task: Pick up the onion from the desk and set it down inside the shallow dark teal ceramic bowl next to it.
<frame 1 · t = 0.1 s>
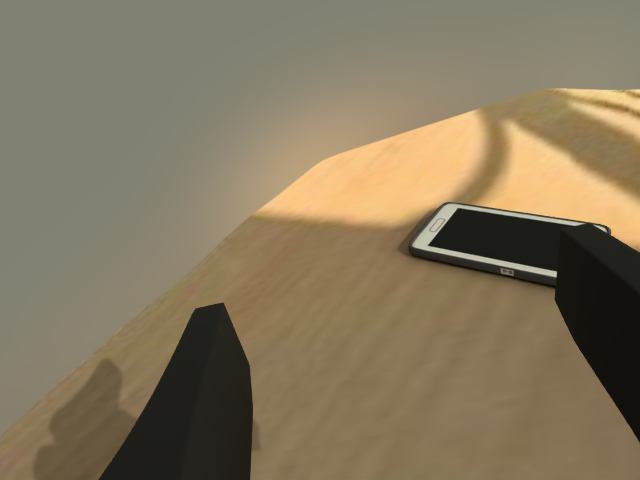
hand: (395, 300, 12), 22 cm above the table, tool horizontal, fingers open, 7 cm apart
cell phone: (505, 248, 48), on the table
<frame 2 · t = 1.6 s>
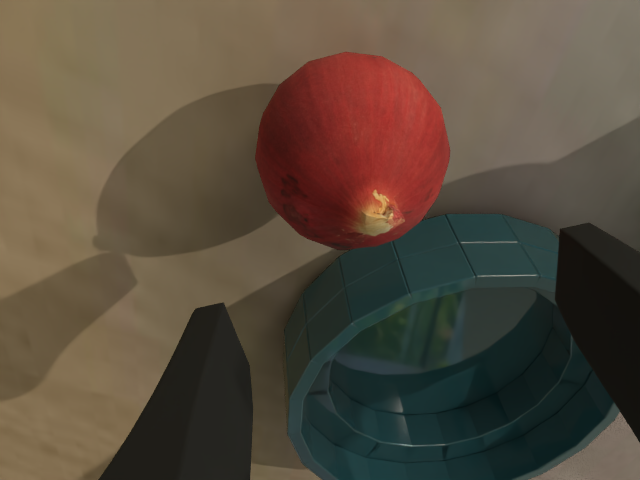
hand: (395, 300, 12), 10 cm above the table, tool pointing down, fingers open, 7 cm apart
teal bowl: (435, 334, 28), on the table
onion: (335, 101, 21), on the table
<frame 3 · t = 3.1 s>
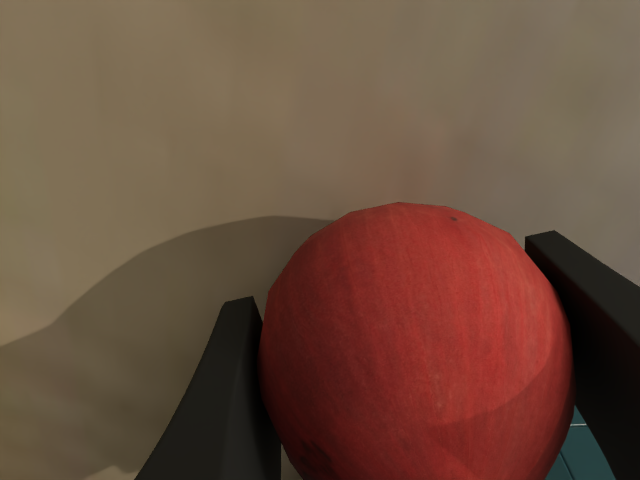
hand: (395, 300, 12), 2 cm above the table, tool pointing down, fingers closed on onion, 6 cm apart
onion: (372, 235, 14), on the table, touching gripper
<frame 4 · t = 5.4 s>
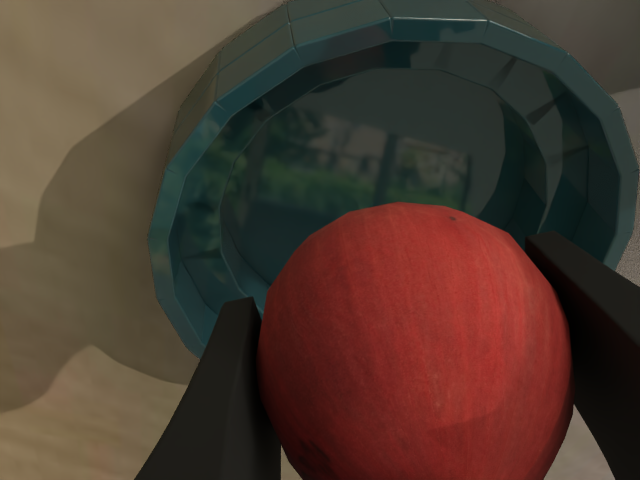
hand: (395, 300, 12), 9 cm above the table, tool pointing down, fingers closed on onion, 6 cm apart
teal bowl: (372, 191, 22), on the table
onion: (371, 234, 14), point 7 cm above the table, touching gripper
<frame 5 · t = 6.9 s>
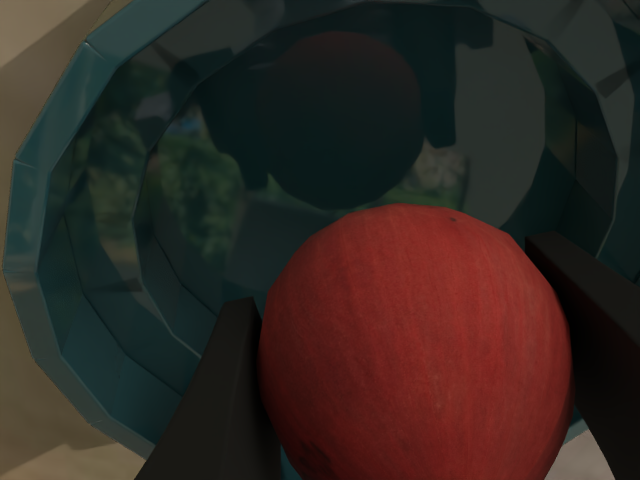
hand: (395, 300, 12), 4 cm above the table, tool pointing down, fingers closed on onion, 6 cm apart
teal bowl: (363, 195, 16), on the table
onion: (372, 235, 14), point 2 cm above the table, touching gripper
when the fingers open (3 cm above the table, at t = 8.0 s): onion stays where it is, resting on teal bowl.
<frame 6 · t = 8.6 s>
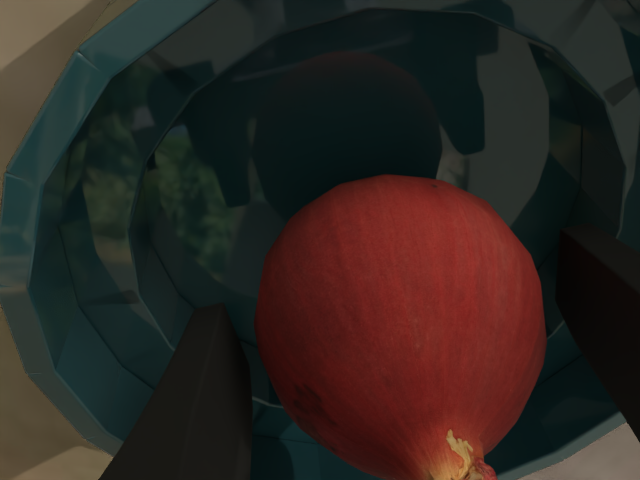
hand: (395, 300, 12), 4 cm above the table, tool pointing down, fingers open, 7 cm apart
teal bowl: (364, 203, 15), on the table
onion: (363, 211, 15), resting on teal bowl
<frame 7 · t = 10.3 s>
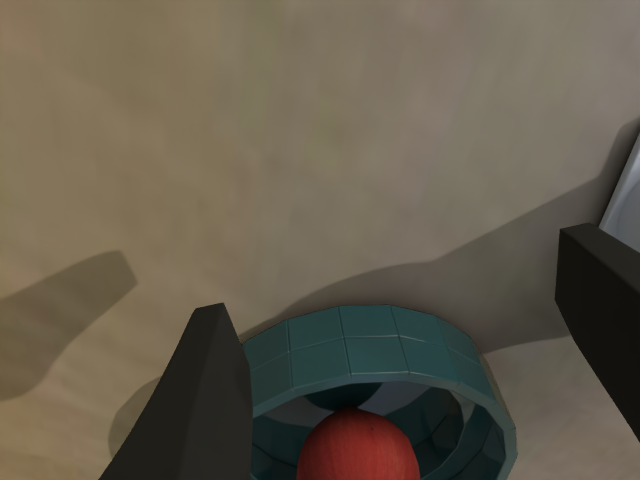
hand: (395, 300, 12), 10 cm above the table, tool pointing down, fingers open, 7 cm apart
teal bowl: (346, 402, 31), on the table
onion: (346, 407, 31), resting on teal bowl
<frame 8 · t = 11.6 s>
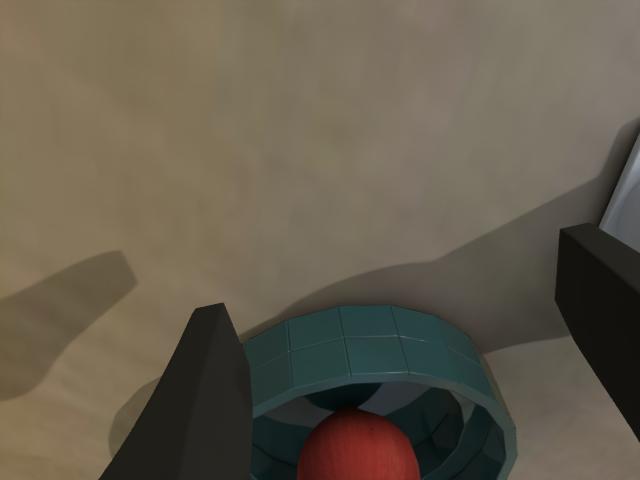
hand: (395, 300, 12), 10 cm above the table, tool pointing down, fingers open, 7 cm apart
teal bowl: (347, 402, 31), on the table
onion: (346, 407, 31), resting on teal bowl
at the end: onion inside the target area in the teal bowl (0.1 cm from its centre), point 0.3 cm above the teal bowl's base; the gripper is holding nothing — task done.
